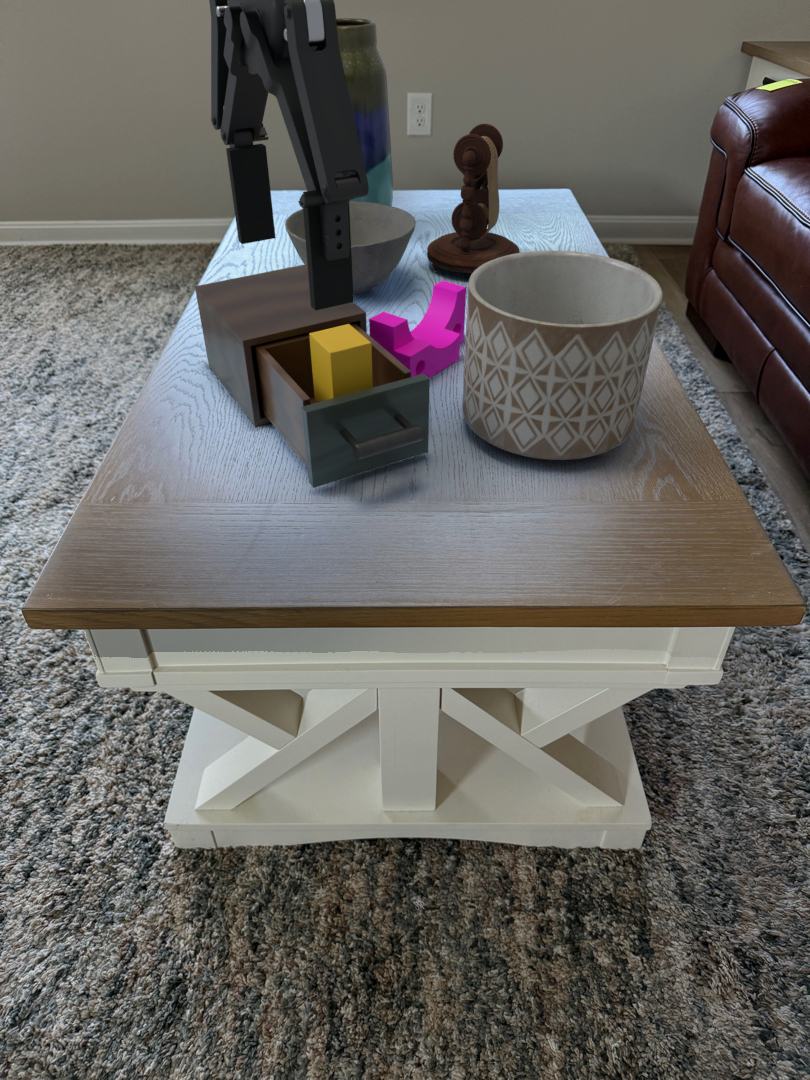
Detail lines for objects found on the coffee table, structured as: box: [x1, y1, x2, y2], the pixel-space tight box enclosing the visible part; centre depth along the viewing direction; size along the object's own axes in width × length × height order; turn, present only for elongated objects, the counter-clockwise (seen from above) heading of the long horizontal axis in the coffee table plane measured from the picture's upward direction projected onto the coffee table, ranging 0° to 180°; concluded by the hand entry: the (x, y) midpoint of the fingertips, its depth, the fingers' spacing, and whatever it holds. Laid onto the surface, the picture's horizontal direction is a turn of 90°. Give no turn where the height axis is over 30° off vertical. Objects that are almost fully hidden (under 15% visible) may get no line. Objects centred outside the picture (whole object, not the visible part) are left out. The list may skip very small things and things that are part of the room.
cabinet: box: [194, 264, 368, 427], centre depth 94 cm, size 17×15×11 cm
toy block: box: [368, 280, 467, 379], centre depth 99 cm, size 15×6×8 cm, turn 142°
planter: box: [461, 250, 664, 461], centre depth 85 cm, size 19×19×16 cm
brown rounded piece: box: [426, 123, 521, 274], centre depth 121 cm, size 15×15×20 cm
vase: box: [334, 17, 394, 207], centre depth 129 cm, size 14×14×31 cm
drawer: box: [255, 323, 431, 489], centre depth 82 cm, size 20×13×9 cm
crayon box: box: [309, 324, 373, 403], centre depth 81 cm, size 4×5×11 cm
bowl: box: [284, 201, 417, 294], centre depth 117 cm, size 19×19×10 cm
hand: (291, 269), depth 55 cm, fingers open, 13 cm apart
